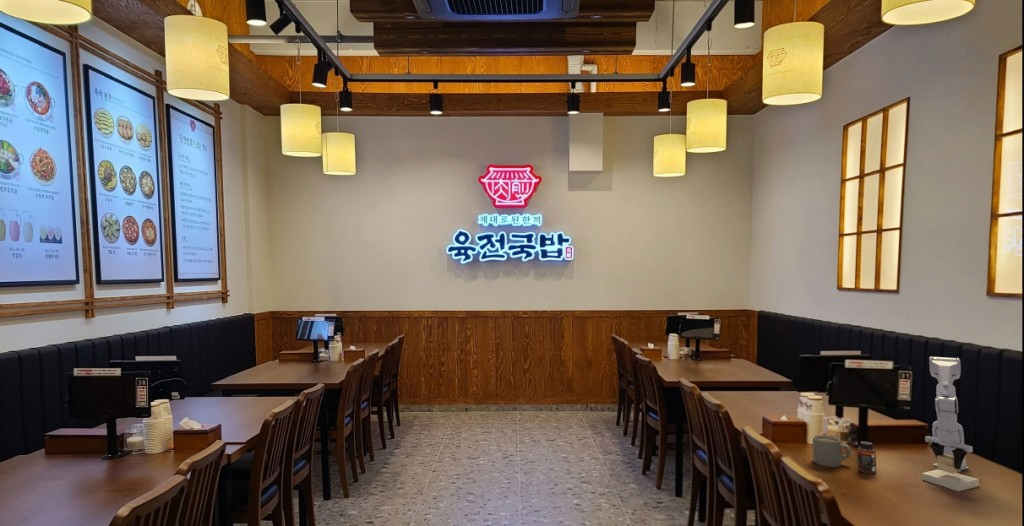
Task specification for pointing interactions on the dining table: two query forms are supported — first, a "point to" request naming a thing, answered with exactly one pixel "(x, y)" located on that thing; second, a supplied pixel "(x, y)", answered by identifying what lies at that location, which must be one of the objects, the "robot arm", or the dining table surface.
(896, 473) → the dining table surface
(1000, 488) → the dining table surface
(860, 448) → the supplement bottle
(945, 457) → the maple cube
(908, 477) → the dining table surface
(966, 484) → the beige block
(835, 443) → the coffee mug
